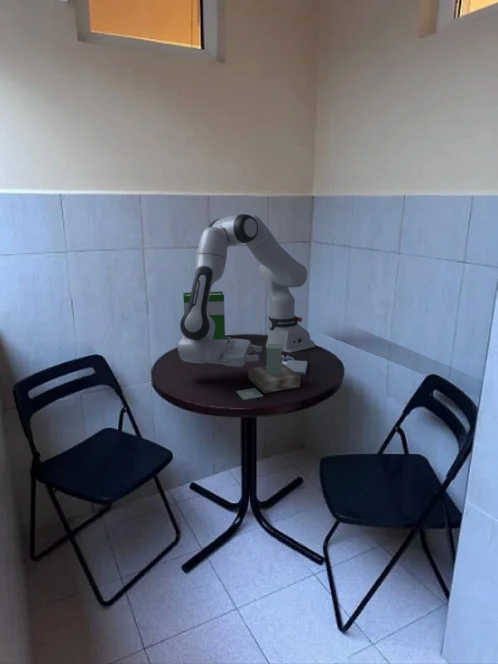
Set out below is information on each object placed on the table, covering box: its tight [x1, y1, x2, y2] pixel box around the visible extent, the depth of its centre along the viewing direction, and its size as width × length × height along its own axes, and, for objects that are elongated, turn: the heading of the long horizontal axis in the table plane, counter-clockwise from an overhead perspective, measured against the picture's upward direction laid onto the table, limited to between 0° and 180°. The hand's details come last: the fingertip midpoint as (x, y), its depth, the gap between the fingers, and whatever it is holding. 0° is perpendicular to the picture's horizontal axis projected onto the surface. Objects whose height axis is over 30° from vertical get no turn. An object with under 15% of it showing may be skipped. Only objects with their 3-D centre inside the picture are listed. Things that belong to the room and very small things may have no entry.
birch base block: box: [248, 362, 301, 394], centre depth 162 cm, size 14×14×4 cm
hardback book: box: [182, 290, 226, 340], centre depth 201 cm, size 18×7×24 cm, turn 99°
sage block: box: [265, 344, 283, 375], centre depth 160 cm, size 5×5×10 cm
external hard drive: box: [285, 359, 308, 376], centre depth 176 cm, size 2×8×12 cm
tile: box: [235, 387, 264, 401], centre depth 152 cm, size 7×7×1 cm
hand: (260, 353), depth 160 cm, fingers open, 8 cm apart
